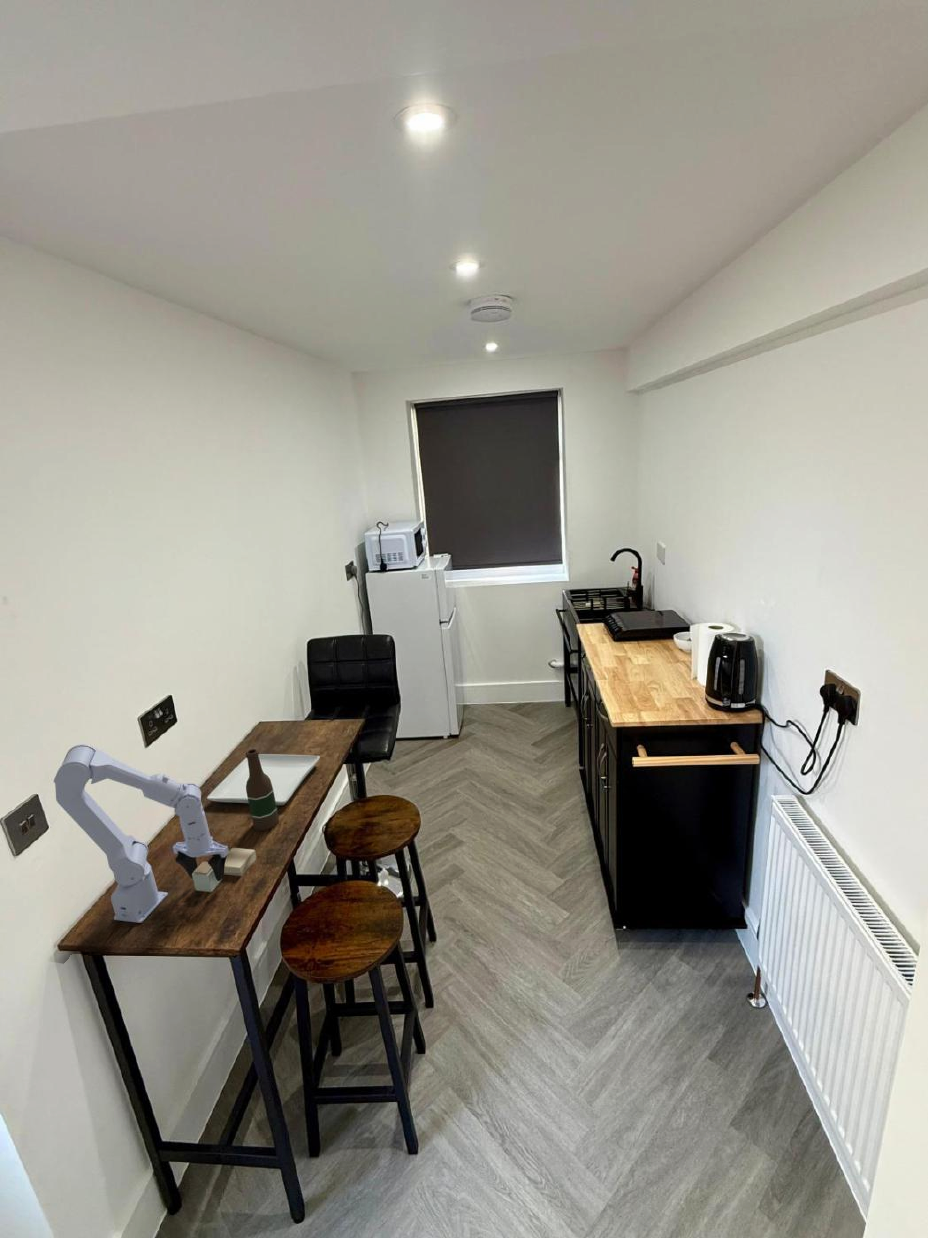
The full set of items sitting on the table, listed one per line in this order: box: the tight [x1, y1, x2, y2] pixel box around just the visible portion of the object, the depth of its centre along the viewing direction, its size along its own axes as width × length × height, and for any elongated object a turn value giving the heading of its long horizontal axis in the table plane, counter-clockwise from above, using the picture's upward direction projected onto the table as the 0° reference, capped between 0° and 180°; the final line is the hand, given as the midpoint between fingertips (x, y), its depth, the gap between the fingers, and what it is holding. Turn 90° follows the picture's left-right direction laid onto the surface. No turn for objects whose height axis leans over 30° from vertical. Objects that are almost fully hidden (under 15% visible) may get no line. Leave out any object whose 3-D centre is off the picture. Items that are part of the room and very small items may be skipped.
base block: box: [224, 847, 257, 877], centre depth 157 cm, size 7×7×3 cm
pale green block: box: [192, 860, 223, 893], centre depth 150 cm, size 4×4×6 cm
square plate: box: [206, 753, 321, 806], centre depth 195 cm, size 27×27×4 cm
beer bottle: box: [245, 748, 280, 832], centre depth 171 cm, size 8×8×24 cm
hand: (207, 876), depth 150 cm, fingers open, 7 cm apart
